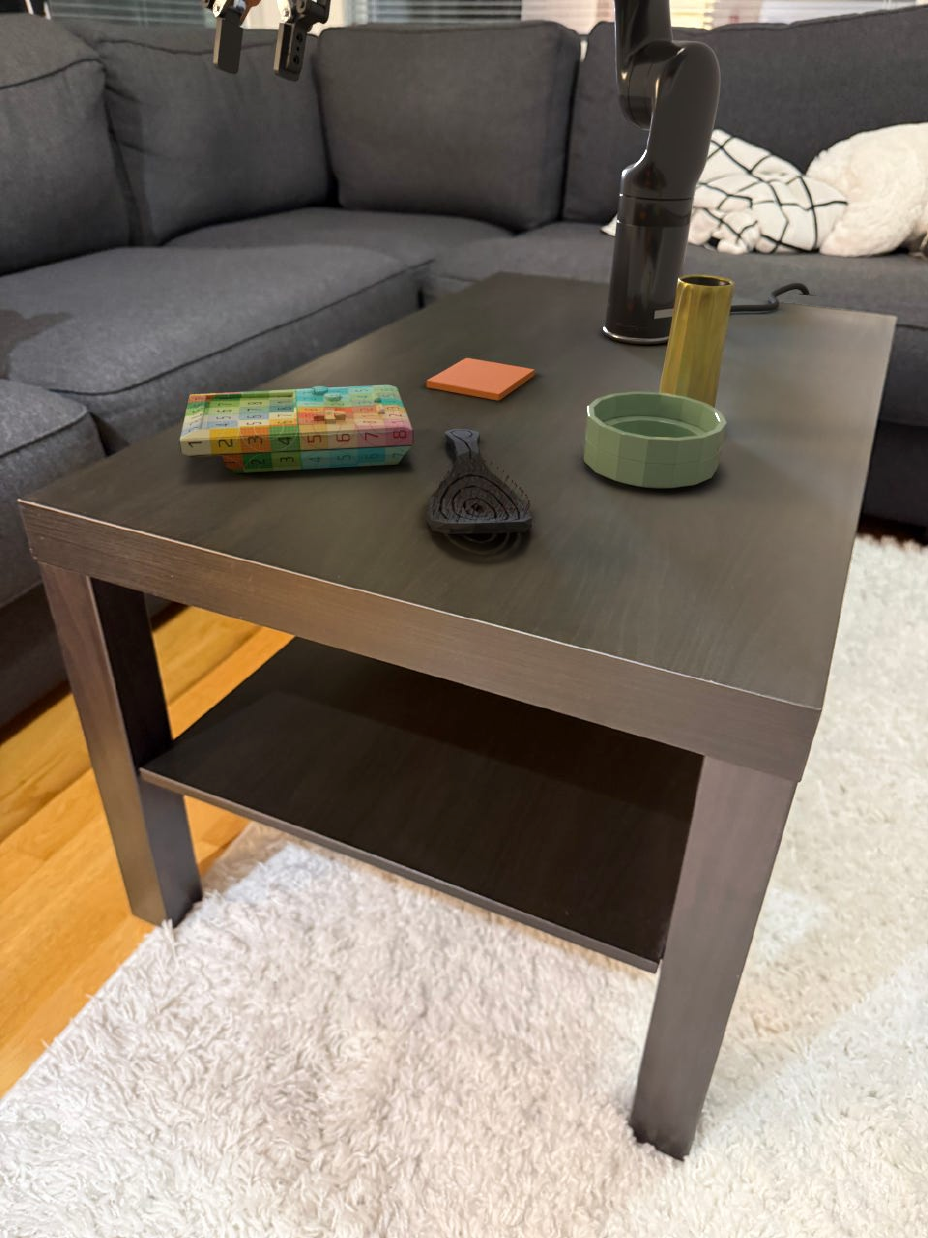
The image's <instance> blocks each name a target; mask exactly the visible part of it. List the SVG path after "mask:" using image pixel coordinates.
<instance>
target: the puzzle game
mask: <svg viewBox="0 0 928 1238" xmlns="http://www.w3.org/2000/svg"><path fill="white" fill-rule="evenodd" d="M180 431H181V432H180V435H179V438H178V439H179V440H178V444H179V451H180V454H181V455H185V456H187V457H189V458H191V457H193V458H194V457H195V458H199V457H222V460H223V463H224V466H225V468H228V469H229V470H231V471H232V472H233V473H235V474H241V473H259V472H279V471H280V472H281V471H297V470H298V471H300V470H316V469H335V468H351V467H352V468H355V467H371V466H372V467H374V466H375V467H376V466H391V465H392V466H393V465H399V464H400V463H401V460H403V458H404V457H405V454H406V453H407V452H408V451H409V450H410V449H411V448H412V447H413V446H414V429H413V426H412V423H411V420H410V417H409V415H408V412H407V410H406V407H405V405H404V402H403V399H402V396H401V394H400V391H399V388H398V386H395V385H391V384H375V385H371V384H370V385H354V386H353V385H352V386H351V385H350V386H333V387H327V386H324V385H315V386H312V387H311V388H292V389H290V388H289V389H274V390H273V389H272V390H252V391H250V390H249V391H235V392H234V391H232V392H229V391H228V392H210V393H191V394H189V396H188V399H187V403H186V409H185V413H184V418H183V421H182V426H181V430H180Z"/></svg>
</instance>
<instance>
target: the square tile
mask: <svg viewBox="0 0 928 1238" xmlns="http://www.w3.org/2000/svg"><path fill="white" fill-rule="evenodd" d="M535 372H536V370H535V368H530V367H529V368H528V367H523V366H519V365H511V364H506V363H500V362H494V361H487V360H483V359H477V358H471V357H465V358H463V359H462V360H460V361H458V362H457V363H455V364H453V365H451V366H449V367H447V368H446V369H444V370H443V371H441V372H439V373H437V374H436V375H434V376H433V377H431V378H429V379H427V380H426V388H429V389H434V390H440V391H445V392H451V393H455V394H460V395H467V396H471V397H477V398H481V399H488V400H492V401H497V402H499V401H500V400H501V401H502V399H504V398H505V397H506V396H508V395H509V394H510V393H513V391H515V390H516V389H518V388H519V387H521V386H522V385H523V384H526V382H528V381H530V380H531V379H532V378H533V377H535Z"/></svg>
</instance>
